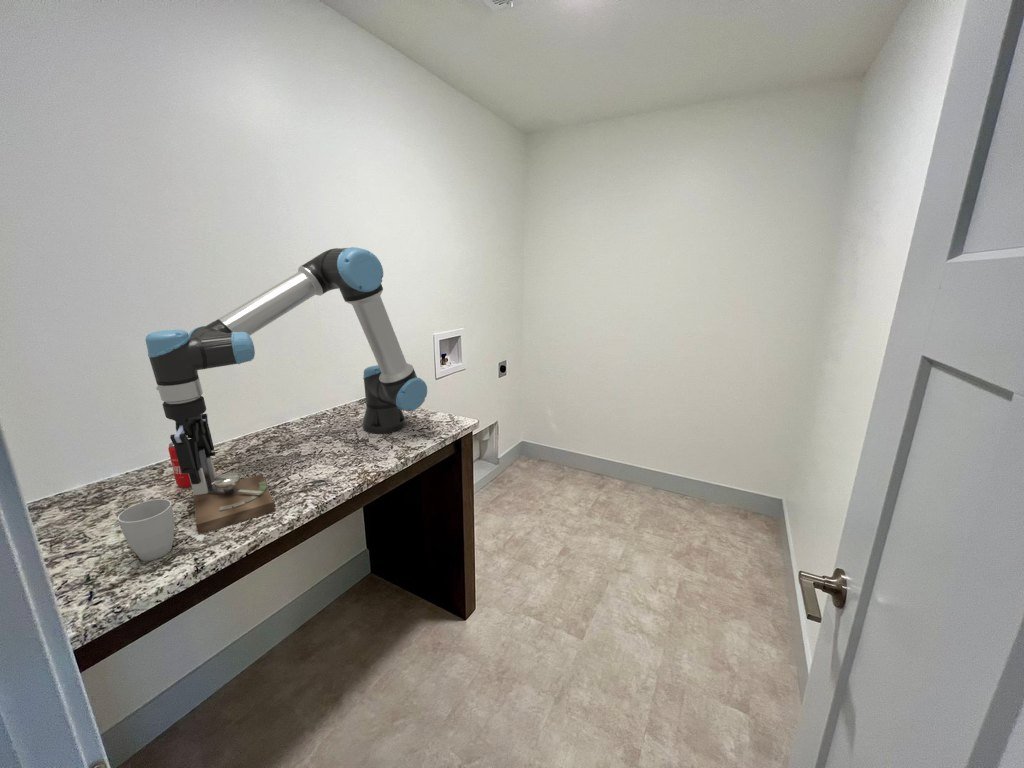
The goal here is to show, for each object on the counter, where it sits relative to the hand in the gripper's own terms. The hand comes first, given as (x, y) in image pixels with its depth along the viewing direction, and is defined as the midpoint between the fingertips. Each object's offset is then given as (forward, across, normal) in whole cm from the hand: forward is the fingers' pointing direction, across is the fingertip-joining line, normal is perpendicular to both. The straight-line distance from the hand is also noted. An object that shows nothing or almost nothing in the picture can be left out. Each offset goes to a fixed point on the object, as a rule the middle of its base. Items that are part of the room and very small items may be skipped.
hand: (205, 487), depth 100 cm
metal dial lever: (+2, +1, +5) cm, 6 cm away
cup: (+4, +18, -3) cm, 19 cm away
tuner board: (+5, +3, +6) cm, 8 cm away
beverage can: (+5, -12, -9) cm, 16 cm away
